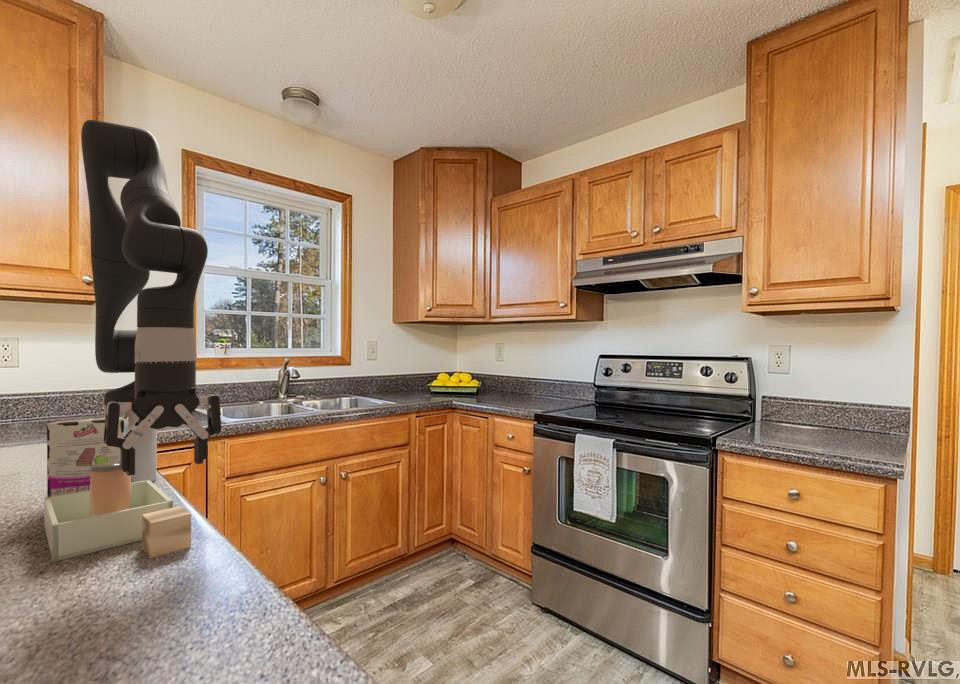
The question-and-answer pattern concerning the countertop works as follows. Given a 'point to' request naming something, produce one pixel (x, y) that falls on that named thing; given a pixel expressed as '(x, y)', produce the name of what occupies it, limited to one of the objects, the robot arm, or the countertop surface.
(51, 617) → the countertop surface
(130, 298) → the robot arm
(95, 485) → the spice jar
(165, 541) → the maple block
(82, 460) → the candy bar box
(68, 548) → the tote
